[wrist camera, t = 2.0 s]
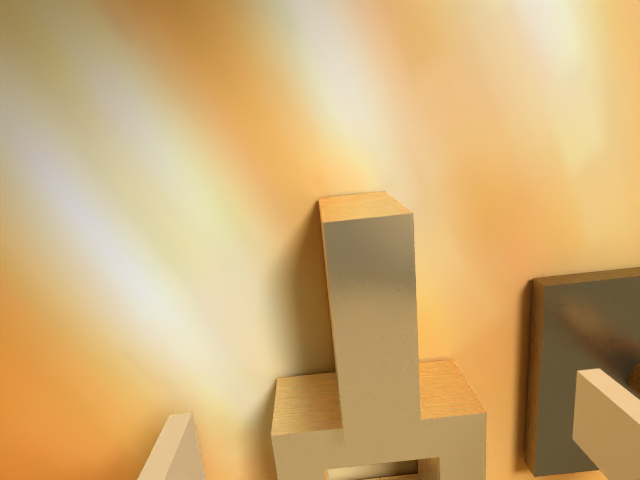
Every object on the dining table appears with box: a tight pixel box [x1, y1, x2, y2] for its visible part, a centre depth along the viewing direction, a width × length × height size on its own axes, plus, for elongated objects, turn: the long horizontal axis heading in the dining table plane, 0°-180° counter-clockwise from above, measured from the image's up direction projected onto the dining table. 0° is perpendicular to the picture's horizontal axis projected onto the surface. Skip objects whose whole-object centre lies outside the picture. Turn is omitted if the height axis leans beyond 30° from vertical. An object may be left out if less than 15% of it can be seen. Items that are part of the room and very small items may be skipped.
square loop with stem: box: [271, 191, 486, 480], centre depth 18 cm, size 18×9×5 cm, turn 6°
